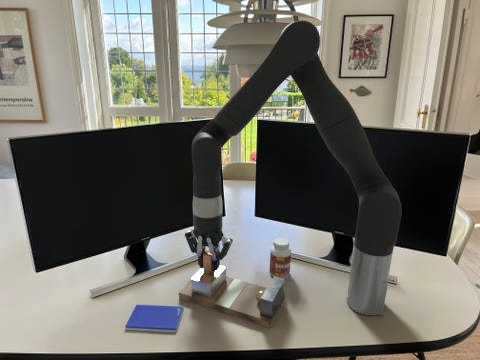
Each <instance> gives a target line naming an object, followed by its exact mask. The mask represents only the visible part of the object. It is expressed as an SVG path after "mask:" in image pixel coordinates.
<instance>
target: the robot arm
mask: <svg viewBox="0 0 480 360" xmlns="http://www.w3.org/2000/svg"><path fill="white" fill-rule="evenodd" d="M320 46H321V35H320V32H319V30H318V28H317V26H315V24H313V23H312V22H310V21H308V20H303V19H302V20H301V19H299V20H295V21H293V22H291V23H289V24H287V26H285V27H284V28H283V29H282V31H281V33H280V35H279V37H278V38H277V41H276V42H275V43H274V45H273V46H272V49H271V50H270V51H269V53H268V54H267V55H266V57H265V58H264V59H263V61H262V63H261V64H260V65H259V66H258V67H257V69H256V70H255V71H254V72H253V74H251V75H250V77H249V78H248V79H247V80H246V81H245V82H244V83H243V84H242V85H241V86H240V87H239V89H238V90H237V91H236V92H235V93H234V94H232V96H231V97H230V98H229V99H228V100H227V101H226V102H225V104H224V105H223V106H222V107H221V109H219V111H218V112H217V114H216V115H215V116H214V117H213V118H212V119H211V120H210V121H208V122H207V123H206V124H205V125H204V126H203V127H202V128H201V129H199V131H198V132H197V133H196V135H195V136H194V137H193V139H192V142H191V161H192V170H193V171H192V173H193V178H192V190H193V193H192V195H193V198H192V219H193V221H192V222H193V224H192V225H193V229H189V230H187V231H186V232H185V233H184V238H185V239H186V241H187V244H188V247H189V249H190V252H191V253H192V254H196V256H197V258H198V259H197V265H198V266H199V268H200V269H201V268H202V269H203V252H204V251H206V247H207V248H208V250H210V253H211V254H212V259H213V260H212V271H213V272H216V270H218V269H219V267H220V265H221V264H220V263H221V261H222V260H224V258H225V257H226V256H227V255H228V252H229V250H230V248H231V246H232V244H233V241H234V240H233V238H230V237H229V238H227V237H226V236H225V234H224V233H223V199H222V179H221V178H222V177H221V170H222V153H223V151H222V149H223V147H224V146H225V145H226V144H227V142H228V141H229V140H230V139H232V138H233V137H235V136H237V135H239V134H240V133H241V132H242V131H243V130H244V129H245V127H246V126H247V125H248V124H249V123H250V122H251V121H252V120H253V119H254V118H255V117H256V115H258V114H259V112H260V110H261V109H262V108H263V107H264V106H265V104H266V103H267V101H268V100H269V99H270V98H271V97H272V95H273V94H274V93H275V91H277V89H278V88H279V87H280V86H281V85H282V84H283V83H284V81H286V80H287V79H288V78H289V77H291V79H292V80H293V81H294V83H295V85H296V86H297V88H298V89H299V91H300V93H301V95H302V97H303V99H304V102H305V105H306V107H307V109H308V111H309V113H310V116H311V119H312V120H313V122H314V124H315V127H316V128H317V130H318V134H320V136H321V138H322V140H323V141H324V144H325V145H326V147H327V149H328V150H329V152H330V153H331V154H332V156H333V157H334V158H335V160H336V161H337V162H338V163H339V164H340V165H341V167H343V169H344V170H345V171H346V173H347V175H348V176H349V178H350V180H351V182H352V184H353V187H354V189H355V192H356V194H357V197H358V201H359V202H358V203H359V204H358V213H357V222H356V228H355V229H356V230H355V234H354V242H353V247H352V255H351V262H350V269H349V270H350V271H349V278H348V285H347V286H348V287H347V291H346V293H347V294H346V304H347V306H348V305H349V306H350V307H351V308H352V309H351V308H350V307H349V306H348V307H349V308H350V309H351V310H352V311H354V310H355V311H354V312H356V311H357V312H359V313H358V314H360V313H361V314H360V315H363V314H365V315H364V316H368V315H373V316H380V315H382V316H383V314H384V307H385V304H386V302H385V301H386V297H387V292H388V291H387V290H388V285H389V277H390V269H391V264H392V259H393V253H394V248H395V245H396V243H397V240H398V235H399V230H400V225H401V221H402V220H401V219H402V213H403V212H402V211H403V208H402V207H403V206H402V203H401V200H400V196H399V194H398V192H397V190H396V189H395V188H394V187H393V185H392V183H391V182H390V180H389V179H388V177H387V176H386V175H385V174H384V171H383V170H382V168H381V166H380V165H379V163H378V162H377V160H376V157H375V155H374V153H373V152H374V151H373V150H372V149H373V148H372V145H371V144H370V142H369V139H368V136H367V134H366V132H365V129H364V127H363V125H362V123H361V121H360V119H359V117H358V114H357V113H356V111H355V109H354V108H353V106H352V105H351V103H350V102H349V100H348V99H347V98H346V97H345V96H344V94H343V93H342V92H341V91H340V89H339V88H338V87H337V86H336V85H335V84H334V82H333V81H332V80H331V79H330V77H329V76H328V73H327V72H326V70H325V67H324V66H323V63H322V60H321V57H320V55H319V53H318V52H319V49H320ZM220 242H221V244H220ZM221 246H222V248H221ZM220 248H221V250H220ZM357 312H356V313H357Z"/></svg>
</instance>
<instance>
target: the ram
mask: <svg viewBox="0 0 480 360" xmlns="http://www.w3.org/2000/svg"><path fill="white" fill-rule="evenodd" d="M212 260H213V259H212V254H211V253H210V250H209V249H207V250H205V251H204V252H203V269H202V268H200V269H199V270H198V271H197V272H196V273H195V274H194V275H193V276H192V277H191V278H190V281H191V291H192V292H195V293H198V294H201V295H205V296H208V297H212V296H213V295H214V293H215V292H216V291H217V290H218V288H219V287H220V286H221V285H222V284H223V282H224V281H225V280H226V277H227V267H226V266H224V265H221V264H220V267H219V269H218V270H216V272H213V271H212Z"/></svg>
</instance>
